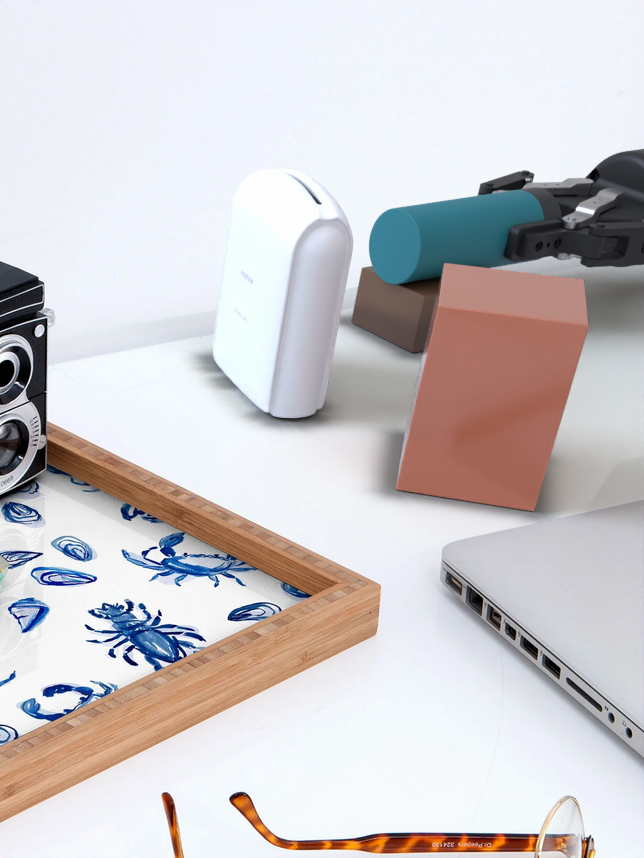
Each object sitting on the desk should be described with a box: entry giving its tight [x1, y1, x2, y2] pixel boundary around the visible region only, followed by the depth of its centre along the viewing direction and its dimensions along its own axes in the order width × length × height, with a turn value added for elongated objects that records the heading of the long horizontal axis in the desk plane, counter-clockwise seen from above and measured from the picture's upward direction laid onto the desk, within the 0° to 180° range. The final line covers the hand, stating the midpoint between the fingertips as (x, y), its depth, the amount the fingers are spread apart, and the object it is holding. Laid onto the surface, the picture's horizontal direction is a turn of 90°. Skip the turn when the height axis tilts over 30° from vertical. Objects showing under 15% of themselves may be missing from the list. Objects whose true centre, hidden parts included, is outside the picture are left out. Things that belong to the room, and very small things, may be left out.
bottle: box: [368, 187, 562, 284], centre depth 94 cm, size 12×5×5 cm, turn 117°
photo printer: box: [212, 167, 354, 419], centre depth 85 cm, size 10×4×12 cm, turn 11°
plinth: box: [395, 263, 590, 512], centre depth 76 cm, size 7×7×10 cm
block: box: [350, 265, 441, 354], centre depth 96 cm, size 6×6×4 cm
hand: (481, 232), depth 94 cm, fingers closed on bottle, 4 cm apart
